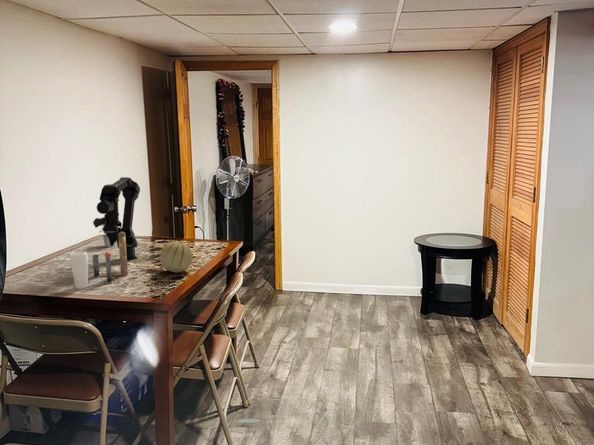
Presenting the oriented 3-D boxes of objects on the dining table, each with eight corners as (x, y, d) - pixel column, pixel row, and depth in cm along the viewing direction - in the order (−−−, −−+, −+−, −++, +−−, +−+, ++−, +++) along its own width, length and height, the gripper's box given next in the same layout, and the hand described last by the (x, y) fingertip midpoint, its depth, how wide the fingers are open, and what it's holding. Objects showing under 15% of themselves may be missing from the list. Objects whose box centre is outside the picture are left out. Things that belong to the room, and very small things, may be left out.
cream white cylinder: (76, 285, 226) (73, 251, 223) (92, 284, 226) (89, 251, 223) (70, 290, 219) (67, 255, 216) (87, 289, 220) (84, 255, 217)
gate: (100, 276, 237) (97, 233, 233) (101, 274, 240) (98, 231, 236) (127, 275, 239) (124, 232, 235) (128, 273, 242) (125, 230, 238)
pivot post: (97, 274, 241) (96, 253, 239) (104, 276, 238) (102, 255, 237) (89, 276, 237) (87, 255, 235) (95, 278, 235) (94, 257, 233)
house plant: (88, 248, 289) (86, 219, 286) (104, 242, 302) (102, 214, 299) (110, 250, 285) (108, 220, 282) (125, 244, 298) (124, 216, 295)
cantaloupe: (154, 272, 244) (152, 241, 241) (177, 265, 256) (176, 235, 253) (176, 278, 236) (175, 246, 233) (199, 270, 248) (198, 239, 245)
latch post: (110, 280, 233) (108, 250, 230) (116, 281, 230) (114, 251, 228) (102, 282, 229) (100, 252, 227) (108, 284, 227) (106, 253, 224)
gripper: (97, 209, 254) (98, 241, 256) (90, 214, 236) (92, 248, 238) (121, 209, 256) (122, 240, 258) (116, 213, 238) (117, 247, 240)
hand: (113, 244), depth 249 cm, fingers open, 9 cm apart
